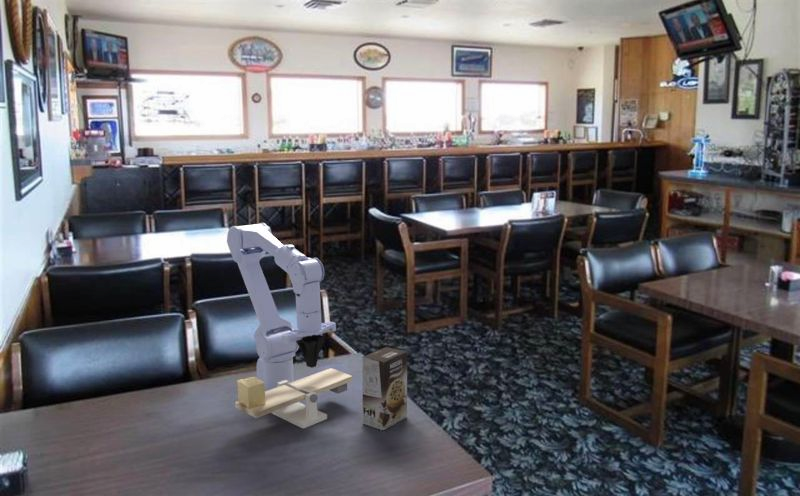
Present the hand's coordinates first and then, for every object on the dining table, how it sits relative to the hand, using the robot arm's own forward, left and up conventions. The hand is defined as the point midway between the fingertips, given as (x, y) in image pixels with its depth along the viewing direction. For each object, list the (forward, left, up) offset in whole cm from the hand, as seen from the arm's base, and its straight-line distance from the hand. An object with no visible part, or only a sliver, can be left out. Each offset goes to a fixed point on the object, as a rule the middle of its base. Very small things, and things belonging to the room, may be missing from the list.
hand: (311, 366), depth 155 cm
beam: (+1, -5, -7) cm, 9 cm away
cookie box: (+18, +7, -11) cm, 22 cm away
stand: (+1, -5, -10) cm, 12 cm away
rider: (0, -15, -1) cm, 15 cm away
